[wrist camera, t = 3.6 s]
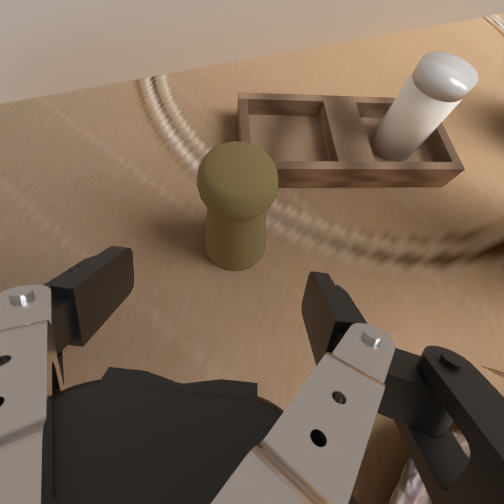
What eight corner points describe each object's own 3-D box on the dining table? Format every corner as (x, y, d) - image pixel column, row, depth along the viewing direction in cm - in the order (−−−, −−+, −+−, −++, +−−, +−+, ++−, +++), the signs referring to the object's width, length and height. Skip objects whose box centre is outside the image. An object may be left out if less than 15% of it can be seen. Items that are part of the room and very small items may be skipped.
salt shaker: (405, 129, 31) (464, 53, 23) (418, 161, 29) (488, 90, 21) (366, 128, 31) (413, 50, 23) (376, 161, 29) (432, 88, 21)
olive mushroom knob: (201, 219, 25) (182, 128, 15) (259, 212, 26) (278, 122, 16) (208, 275, 23) (190, 213, 13) (270, 266, 24) (301, 201, 14)
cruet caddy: (413, 120, 34) (430, 99, 31) (442, 186, 29) (464, 169, 27) (237, 115, 31) (238, 92, 28) (241, 187, 27) (243, 168, 24)
